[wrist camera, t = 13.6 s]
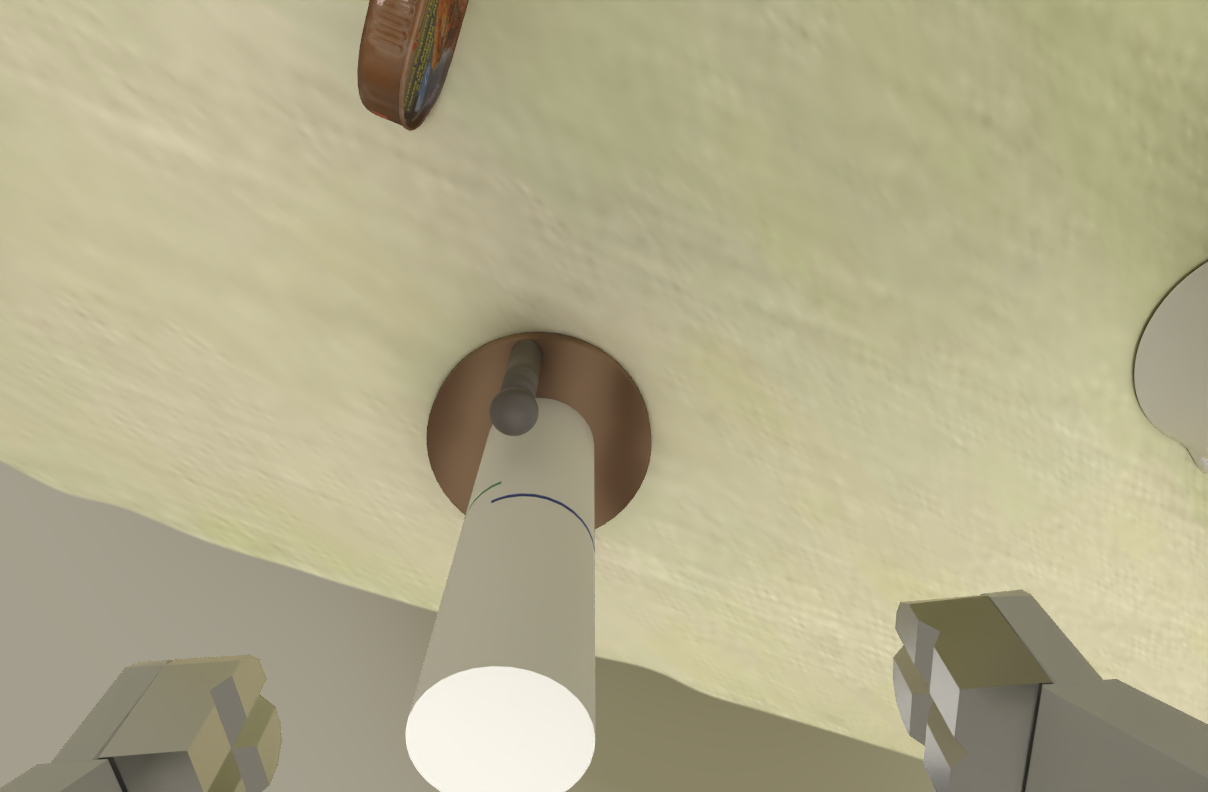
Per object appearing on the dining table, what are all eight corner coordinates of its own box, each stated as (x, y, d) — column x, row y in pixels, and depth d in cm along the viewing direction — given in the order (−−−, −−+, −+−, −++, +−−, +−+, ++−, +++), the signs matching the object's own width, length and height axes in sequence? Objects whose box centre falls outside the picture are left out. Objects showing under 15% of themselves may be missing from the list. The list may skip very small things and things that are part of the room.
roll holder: (641, 317, 51) (654, 385, 40) (657, 524, 57) (672, 632, 46) (411, 338, 52) (363, 411, 41) (451, 541, 57) (418, 652, 47)
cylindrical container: (604, 481, 54) (613, 791, 31) (503, 502, 55) (438, 822, 32) (580, 387, 51) (569, 649, 28) (474, 410, 52) (379, 686, 29)
